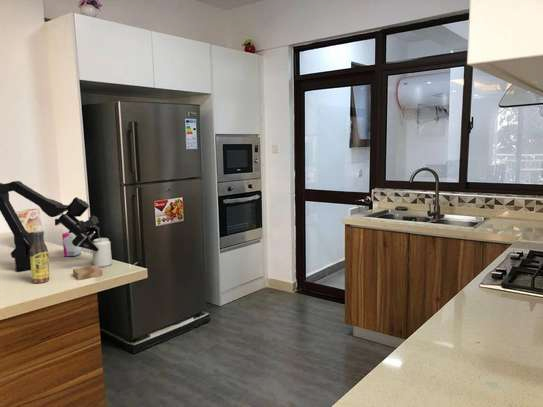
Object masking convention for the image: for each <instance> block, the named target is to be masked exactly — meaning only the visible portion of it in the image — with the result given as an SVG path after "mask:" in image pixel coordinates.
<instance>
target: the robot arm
mask: <svg viewBox="0 0 543 407" xmlns="http://www.w3.org/2000/svg"><path fill="white" fill-rule="evenodd" d="M10 192H15V193H16V194H18V195H19V196H21V197H23V198H25V199H26V200H28V201H30V202H31V203H33V204H35V205H36V206H38V207H39V209H40V210H41V211H42V212H43V213H44V214H45V215H47V216H48V217H50V218H54V226H55V227H56V226H58V225H63V227H65V229H67V230H68V232H69V233H73V234H74V235H75V236H76V237H75V238H74V239H73V240H72V244H73V245H74V246H75V247H76V246H78V245H79V244H80V245H79V246H78V247H81V249H87V250H89V251H92V252H93V251H98V250H99V249H98V248H97V247H96V246H95V245H94V244H93V242H94V241H93V240H95V239H99V238H102V237H101V236H100V226H98V224H99V223H100V221H99V217H98V216H96V215H91V216H89V217H88V219H87V220H85V221H84V220H82V219H81V220H79V219H78V217H82V215H84V213H85V212H86V211H87V210H88V209H89V207H90V205H89V204H88V202H87V201H86V200H83V199H81V198H79V197H77V196H76V197H74V198H73V199H72V200H71V202H70V203H69V204H63V203H62V202H59V201H57V200H55V199H52V198H47V197H45V196H44V195H42V194H40V192H37V191H36V190H34V189H33V188H31V187H29V186H28V185H26V184H24V183H23V182H22V181H20V180H15V181H11V182H6V183H2V182H0V213H1V215H2V217H3V219H4V221H5V222H6V224H7V226H8V227H9V230H10V231H11V233H12V234H13V243H14V246H15V248H14V249H13V250H12V251H11V252H10V256H11V258H12V259H14V264H15V265H14V269H15V271H16V272H18V273H19V272H25V271H29V270H30V271H31V262H30V249H31V246H32V245H33V236H32V232H31V233H29V232H27V231H26V230H25V228H24V227H23V225H22V223H21V221H20V219H19V218H18V216H17V214H16V212H17V211H16V210H15V208H14V207H13V205H12V203H11V202H10ZM56 217H58V218H56Z"/></svg>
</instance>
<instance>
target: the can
mask: <svg viewBox="0 0 543 407" xmlns="http://www.w3.org/2000/svg"><path fill="white" fill-rule="evenodd" d="M93 241H94V242H93V244H94V245H95V246H96V247H97V248H98V249H99V250H98V251H93V250H92V260H93V262H92V263H93V266H94V265H96V266H98V267H99V268H100V269H102V268H103V269H104V268H108V267H110V266H111V265H112V263H113V258H112V249H111V248H112V247H111V241H110V240H109V238H107V237H101V238H99V239H95V240H93Z"/></svg>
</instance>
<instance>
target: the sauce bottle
mask: <svg viewBox="0 0 543 407" xmlns="http://www.w3.org/2000/svg"><path fill="white" fill-rule="evenodd" d="M44 235H45V231H44V230H42V231H33V232H32V236H33V245H32V246H31V249H30V262H31V270H30V274H31V277H30V278H31V283H33V284H43V283H47V282H49V281H50V260H49V250H48V247H47V245H46V244H45V240H44V239H45V238H44Z"/></svg>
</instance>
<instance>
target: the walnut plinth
mask: <svg viewBox="0 0 543 407" xmlns="http://www.w3.org/2000/svg"><path fill="white" fill-rule="evenodd" d="M72 273H73V274H72V275H73V277H75V279H77V280H78V281H81V280H87V279H92V278H97V277H102V276H103V269H102V268H99V267H98V266H96V265H94V264H93V265H89V266H83V267H79V268H73V269H72Z"/></svg>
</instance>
